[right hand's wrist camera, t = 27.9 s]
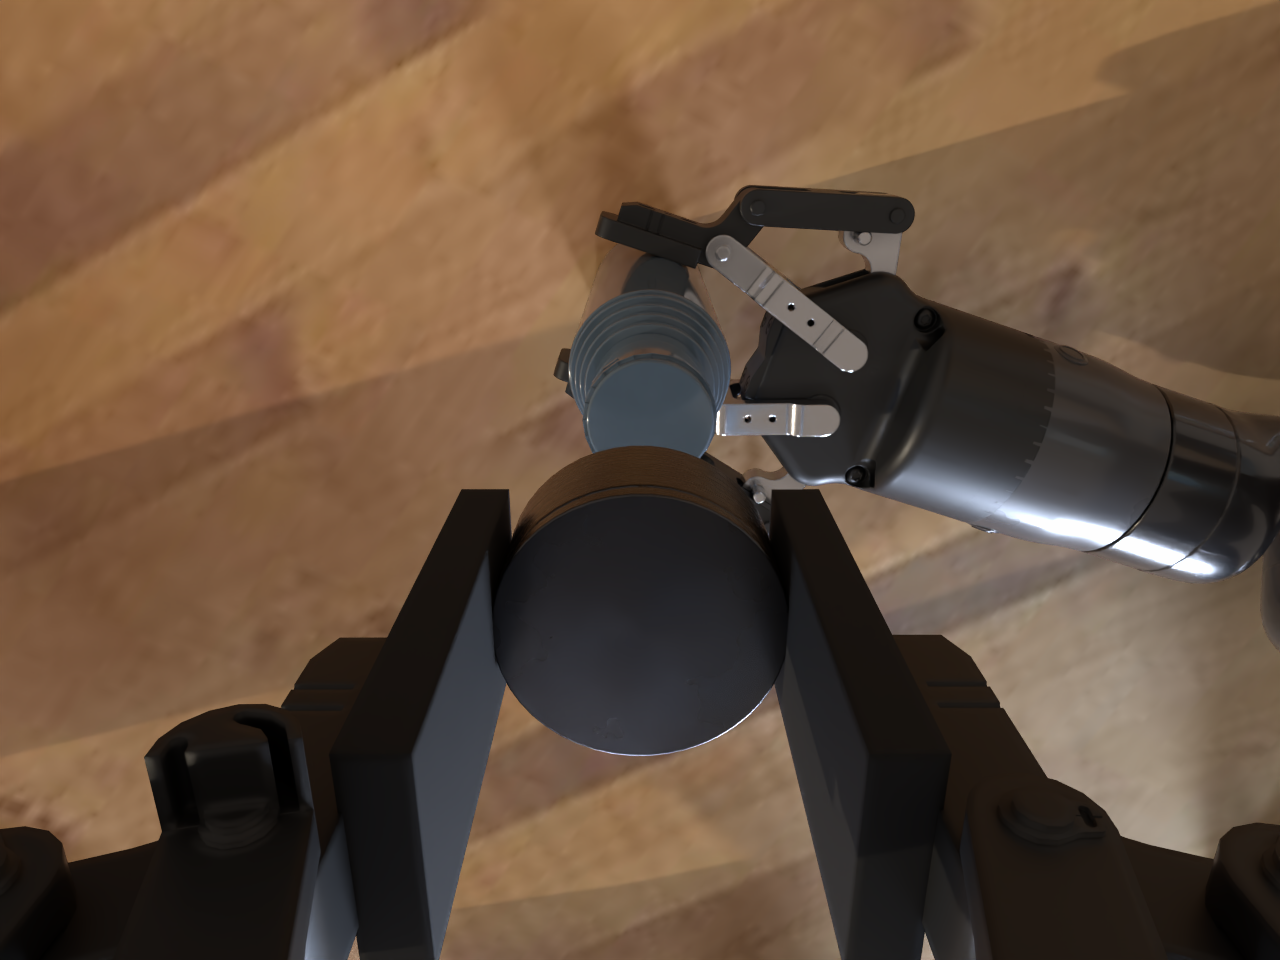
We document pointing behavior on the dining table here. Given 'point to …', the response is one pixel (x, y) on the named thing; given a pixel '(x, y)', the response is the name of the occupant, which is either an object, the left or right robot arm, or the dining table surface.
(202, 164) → the dining table surface
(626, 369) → the bottle
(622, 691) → the cap
